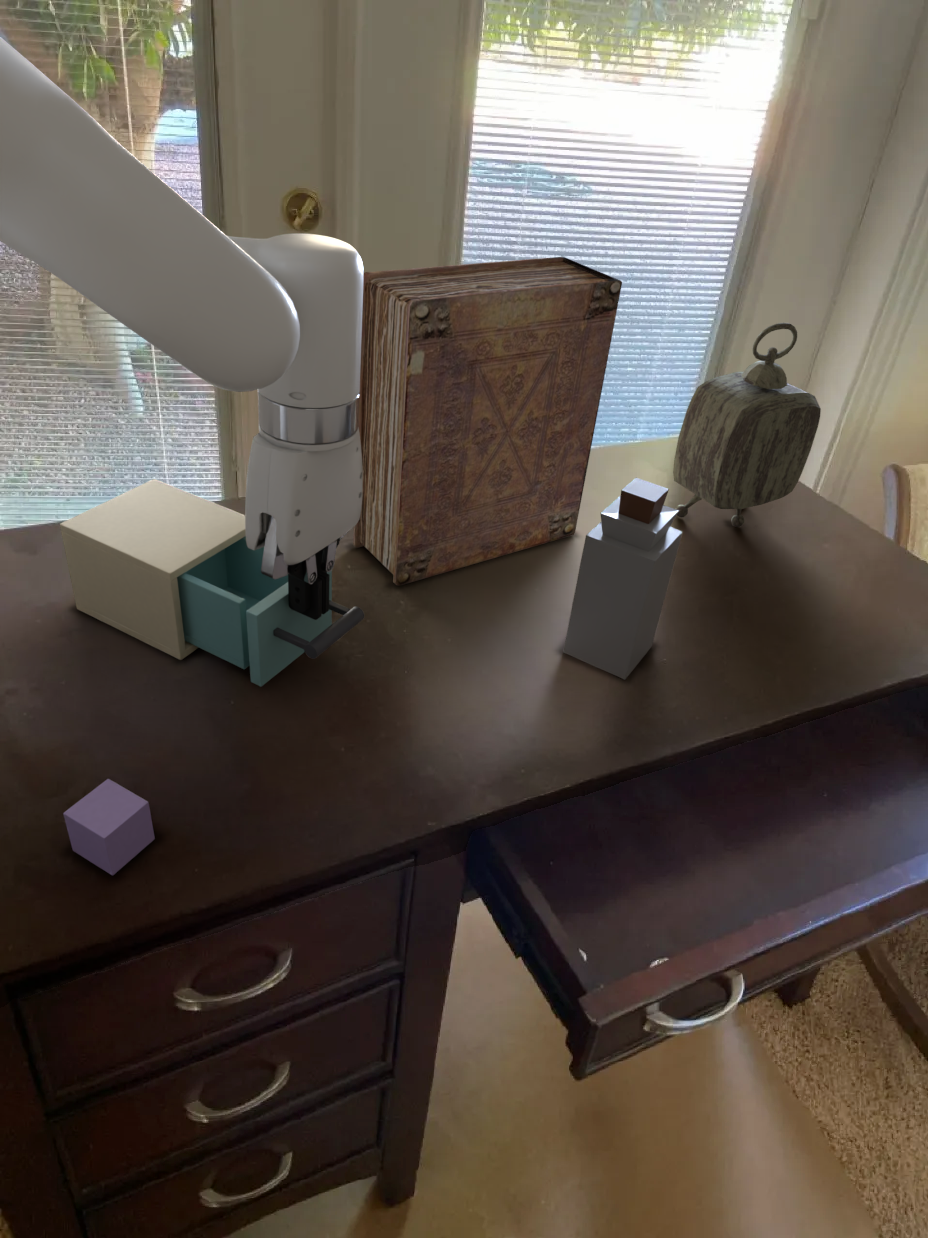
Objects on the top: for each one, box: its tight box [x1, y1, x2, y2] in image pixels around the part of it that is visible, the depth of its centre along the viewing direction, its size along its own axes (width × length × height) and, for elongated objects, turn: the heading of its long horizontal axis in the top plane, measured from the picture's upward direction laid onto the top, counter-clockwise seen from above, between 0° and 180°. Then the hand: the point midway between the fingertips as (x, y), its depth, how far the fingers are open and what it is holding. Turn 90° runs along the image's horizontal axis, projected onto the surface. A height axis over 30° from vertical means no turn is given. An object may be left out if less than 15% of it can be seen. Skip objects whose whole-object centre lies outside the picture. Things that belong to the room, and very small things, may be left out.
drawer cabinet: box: [59, 478, 246, 661], centre depth 86 cm, size 14×12×10 cm
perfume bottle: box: [562, 477, 684, 680], centre depth 84 cm, size 7×7×18 cm
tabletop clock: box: [672, 322, 822, 528], centre depth 107 cm, size 14×9×25 cm, turn 122°
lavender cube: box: [62, 778, 156, 877], centre depth 63 cm, size 4×4×4 cm
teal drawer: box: [177, 536, 365, 688], centre depth 81 cm, size 17×10×8 cm, turn 60°
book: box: [352, 256, 623, 586], centre depth 95 cm, size 25×9×30 cm, turn 124°
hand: (308, 610), depth 78 cm, fingers closed
